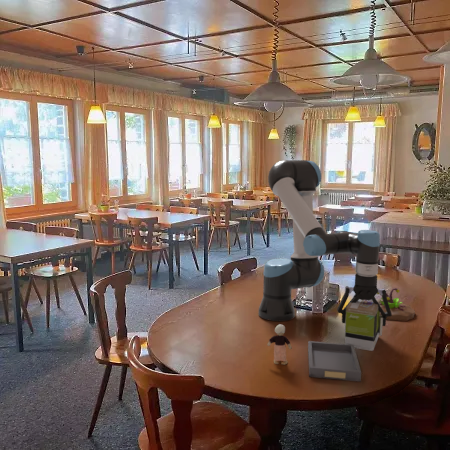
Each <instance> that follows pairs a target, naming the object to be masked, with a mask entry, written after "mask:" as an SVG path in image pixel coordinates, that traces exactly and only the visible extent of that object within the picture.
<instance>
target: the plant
mask: <svg viewBox="0 0 450 450" xmlns="http://www.w3.org/2000/svg"><path fill="white" fill-rule="evenodd" d="M394 291H395V292H396V293H400V289H399V288H397V287H396V288H395V287H394V288H392V290H391V291H390V293H389V294H388V293H387V292H386V298H387V301H388V304H389V307H390V310H391V314H392V316H388V317H387V318H386V321H387V320H388V321H389V320H390V321H401V322H408V321H410V320H411V319H412V320H413V319H414V317H415V313H416V311H415V309H414V308H412V306H411V305H409V304H406V303H403V301H400V299H399V297H395V298H393V293H394ZM376 295H380V294H379V292H378V293H377V294H376ZM380 306H381V308H382V309H383V311H384V313H385V312H387V311H386V308H385V305H384V302H383V299H382V297H381V298H380ZM380 315H381V313H380ZM381 316H382V315H381Z"/></svg>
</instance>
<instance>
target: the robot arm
mask: <svg viewBox="0 0 450 450" xmlns="http://www.w3.org/2000/svg"><path fill="white" fill-rule="evenodd" d="M267 180H268V185H269V189H270V190H271V192H272V194H273V195H274V196H277V197H278V198H279V200H280V201H281V203H282V204H283V206H284V207H285V210H286V211H287V212H288V214H289V216H291V219H292V232H293V234H292V235H293V237H292V238H293V253H292V254H291V255H290V258H286V257H285V258H284V257H282V258H272V259H270V260H268V261H266V262H265V264H264V267H263V274H262V275H263V285H262V286H263V287H262V288H263V291H262V293H263V296H262V298H261V301H260V304H259V307H258V316H259V317H260V318H262V319H264V320H268V321H270V322H271V321H273V322H285V321H291V320H293V319H294V318H295V316H296V311H295V307H294V303H293V300H292V290H297V289H305V288H313V287H316V286H318V285H320V284H321V282H322V281H323V279H324V277H325V266H324V264H323V261H322V260H321V259H319V257H322V256H328V255H337V254H351V255H355V256H356V259H355V275H354V286H353V287H351V286H350V287H349V286H348V285H347V286H345V289H344V294H343V295H342V298H341V299H340V302H339V303H338V306H337V308H336V309H337V313H338V314H341V322H342V324H344V329H343V331H344V332H345V326H346V307H347V306H348V304H349V303H350V302H351V303H356V302H357V301H358V300H359V299H361V300H371V299H372V301H373V302H374V304H377V305H378V310H379V311H380V313H381V315H382V316H381V315H379V330H378V333H379V337H380V336H382V335H383V327H385V326H386V324H387V320H386V318H387V317H388V316H392V314H391V310H390V307H389V304H388V301H387V298H386V293H387V290H386V289H385V288H383V287H382V288H378V273H379V258H380V257H379V256H380V254H379V253H380V247H381V241H380V240H381V238H380V237H381V234H380V232H378V231H376V230H371V229H361V230H358V232H357V233H354V232H351V231H348V230H337V231H336V232H334V233H327V232H326V231H325V229H324V228H323V226H322V225H321V223H320V222H319V221H318V219H317V218H316V216H315V215H314V204H313V203H314V202H313V201H314V200H313V196H314V195H315V193H316V192H317V189H316V188H317V187H319V186H320V184H321V182H322V171H321V168H320V167H319V165H317V163H316V162H315V161H312V160H306V159H302V160H301V159H299V160H298V159H297V160H296V159H295V160H293V159H292V160H288V159H282V160H278V161H277V162H276V163H274V164H273V165H271V168H270V169H269V171H268V176H267ZM352 292H354V295H353V297H352V298H351V299H350V300H349V302H348V304H346V303H347V300H348V298H349V297H350V296H349V295H350V294H351V293H352ZM378 292H379V294H377V293H378ZM376 295H380V296H381V298H382V299H383V300H382V299H381V300H382V301H383V302H384V305H385V308H386V311H387V312H385V313H384V311H383V309H382V308H381V306H380V305H379V303H378V302H377V300H376V299H377V298H376V297H375V296H376ZM375 298H376V299H375ZM345 304H346V305H345Z"/></svg>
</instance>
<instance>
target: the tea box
mask: <svg viewBox="0 0 450 450" xmlns="http://www.w3.org/2000/svg"><path fill="white" fill-rule="evenodd" d="M375 299H376V300H377V302H378V303H379V305H380V300H381V298H376V297H375ZM349 302H350V301H349ZM349 302H348V303H349ZM345 307H346V306H345ZM379 315H380V311H379V310H378V305H377V304H374V302H373V301H372V299H371V300H361V299H359V300H358V301H357V302H356V303H351V302H350V303H349V304H348V306H347V307H346V326H345V331H344V344H352V345H354V348H355V349H358V350H365V351H370V352H373V351H374V350H375V347H376V344H377V342H378V340H379V337H380V335H379V333H378V330H379Z"/></svg>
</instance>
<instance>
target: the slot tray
mask: <svg viewBox="0 0 450 450" xmlns="http://www.w3.org/2000/svg"><path fill="white" fill-rule="evenodd" d="M307 343H308V345H307V349H308V350H307V354H308V356H307V357H308V377H309V378H319V379H328V380H339V381H340V380H341V381H351V382H361V381H362V380H361V379H362V370H361V367H360V363H359V359H358V356H357V353H356V348H354V345H352V344H345V343H338V342H337V343H336V342H325V341H313V340H308V342H307Z"/></svg>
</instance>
